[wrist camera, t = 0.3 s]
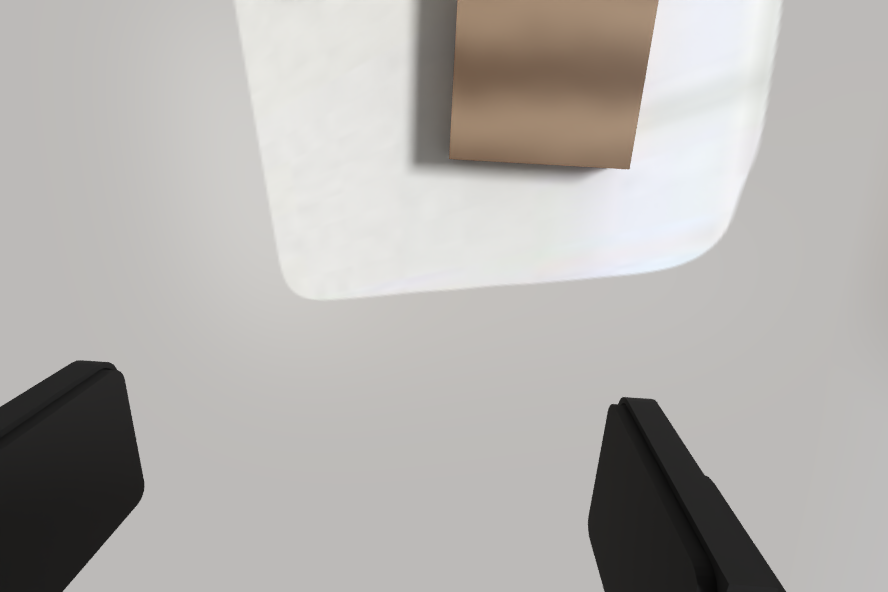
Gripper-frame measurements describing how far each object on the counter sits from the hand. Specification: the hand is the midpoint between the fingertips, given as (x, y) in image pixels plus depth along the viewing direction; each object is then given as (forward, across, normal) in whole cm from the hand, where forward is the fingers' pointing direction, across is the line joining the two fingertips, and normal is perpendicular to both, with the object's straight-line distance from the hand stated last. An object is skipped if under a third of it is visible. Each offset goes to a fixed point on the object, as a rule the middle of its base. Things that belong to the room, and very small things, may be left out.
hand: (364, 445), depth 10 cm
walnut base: (+30, -6, -9) cm, 32 cm away
